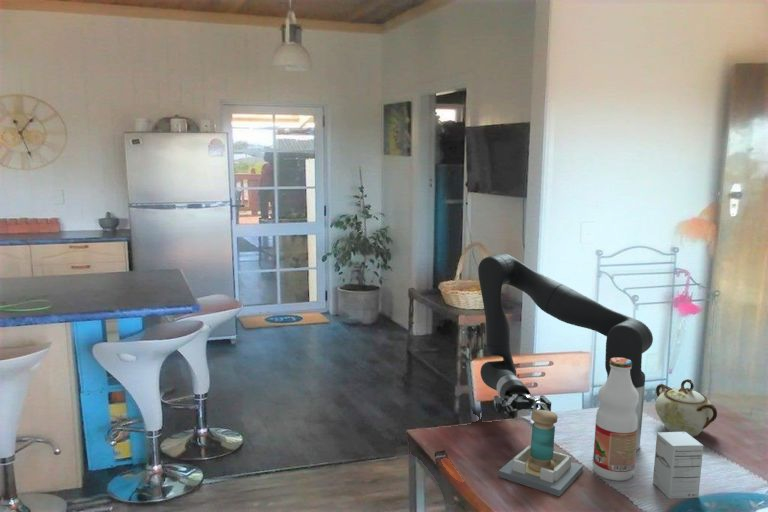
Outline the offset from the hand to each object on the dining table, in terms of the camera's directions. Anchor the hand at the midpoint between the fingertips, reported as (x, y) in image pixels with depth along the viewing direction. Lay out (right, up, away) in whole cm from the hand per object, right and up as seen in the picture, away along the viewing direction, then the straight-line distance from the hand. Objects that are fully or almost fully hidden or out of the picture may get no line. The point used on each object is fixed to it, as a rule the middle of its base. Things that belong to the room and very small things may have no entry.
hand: (529, 414), depth 164 cm
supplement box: (+30, -14, -16) cm, 36 cm away
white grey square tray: (+1, -12, -9) cm, 15 cm away
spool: (+1, -10, -9) cm, 14 cm away
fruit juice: (+18, -12, -8) cm, 23 cm away
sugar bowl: (+47, -9, +17) cm, 50 cm away
